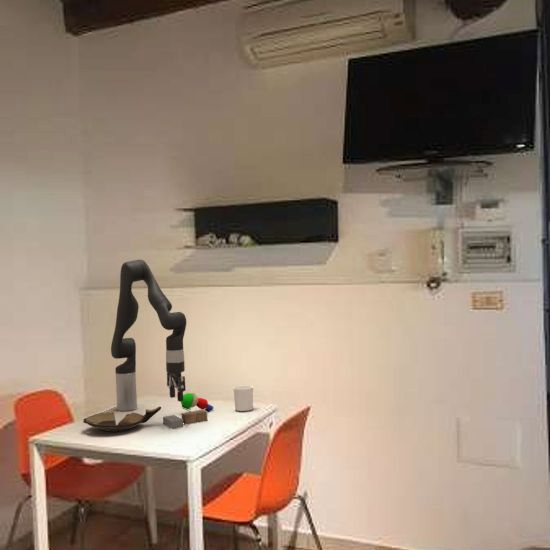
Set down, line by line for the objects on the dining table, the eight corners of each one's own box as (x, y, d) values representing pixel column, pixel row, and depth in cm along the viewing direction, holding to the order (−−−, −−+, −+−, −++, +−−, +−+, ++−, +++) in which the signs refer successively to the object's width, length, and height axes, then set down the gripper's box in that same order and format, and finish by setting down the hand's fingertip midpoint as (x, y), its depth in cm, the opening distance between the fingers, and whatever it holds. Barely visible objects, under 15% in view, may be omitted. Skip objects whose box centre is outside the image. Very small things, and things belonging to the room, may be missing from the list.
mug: (251, 412, 264) (250, 389, 264) (232, 412, 266) (231, 389, 266) (256, 406, 275) (255, 384, 275) (238, 406, 277) (237, 384, 276)
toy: (200, 416, 274) (174, 404, 266) (207, 400, 277) (182, 388, 269) (209, 420, 267) (183, 407, 260) (217, 403, 270) (191, 390, 262)
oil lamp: (97, 422, 257) (96, 405, 257) (165, 421, 254) (164, 403, 254) (74, 437, 234) (73, 417, 234) (148, 436, 231) (148, 416, 231)
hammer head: (163, 423, 250) (163, 416, 250) (174, 422, 252) (174, 414, 252) (171, 428, 241) (171, 421, 241) (183, 426, 244) (183, 419, 244)
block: (181, 413, 251) (203, 409, 256) (181, 422, 251) (203, 419, 256) (184, 415, 247) (207, 411, 252) (185, 424, 247) (207, 420, 252)
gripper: (160, 359, 252) (161, 397, 252) (173, 363, 239) (174, 403, 240) (177, 357, 256) (178, 395, 256) (190, 361, 243) (191, 401, 244)
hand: (176, 399), depth 248 cm, fingers open, 8 cm apart
